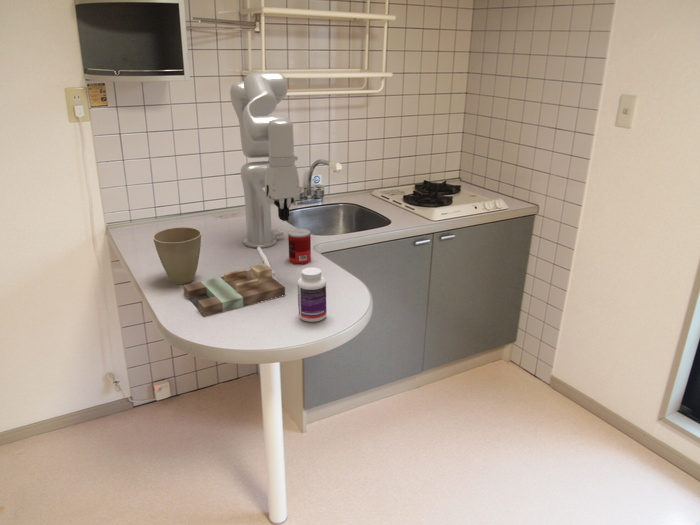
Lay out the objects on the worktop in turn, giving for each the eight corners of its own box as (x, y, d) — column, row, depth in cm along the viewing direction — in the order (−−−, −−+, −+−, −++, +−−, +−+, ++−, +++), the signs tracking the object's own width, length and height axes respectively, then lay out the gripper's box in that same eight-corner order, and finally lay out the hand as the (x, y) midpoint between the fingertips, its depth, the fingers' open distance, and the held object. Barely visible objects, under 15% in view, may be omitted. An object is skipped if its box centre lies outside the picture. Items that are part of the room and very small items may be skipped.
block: (265, 275, 185) (265, 263, 184) (272, 280, 181) (272, 268, 180) (251, 278, 182) (250, 266, 181) (258, 283, 179) (257, 272, 177)
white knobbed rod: (250, 249, 216) (250, 242, 215) (261, 248, 217) (260, 241, 216) (263, 278, 191) (263, 270, 190) (275, 276, 193) (275, 269, 191)
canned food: (314, 259, 207) (314, 230, 203) (303, 266, 200) (303, 237, 196) (296, 255, 210) (295, 227, 206) (285, 263, 203) (284, 233, 199)
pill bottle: (331, 318, 164) (331, 272, 158) (308, 326, 160) (307, 279, 154) (316, 308, 170) (316, 263, 165) (293, 315, 166) (292, 269, 160)
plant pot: (157, 274, 192) (151, 229, 186) (202, 268, 197) (198, 225, 191) (160, 292, 179) (154, 244, 173) (208, 285, 184) (203, 239, 178)
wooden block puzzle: (260, 276, 192) (259, 261, 190) (285, 295, 178) (284, 279, 176) (184, 294, 178) (182, 277, 176) (204, 316, 164) (203, 299, 162)
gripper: (297, 156, 179) (299, 213, 186) (253, 162, 171) (257, 220, 178) (309, 160, 173) (310, 218, 180) (264, 166, 166) (267, 226, 172)
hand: (284, 219), depth 179 cm, fingers closed
